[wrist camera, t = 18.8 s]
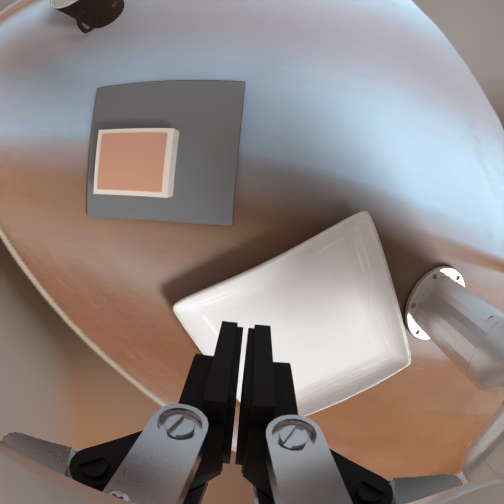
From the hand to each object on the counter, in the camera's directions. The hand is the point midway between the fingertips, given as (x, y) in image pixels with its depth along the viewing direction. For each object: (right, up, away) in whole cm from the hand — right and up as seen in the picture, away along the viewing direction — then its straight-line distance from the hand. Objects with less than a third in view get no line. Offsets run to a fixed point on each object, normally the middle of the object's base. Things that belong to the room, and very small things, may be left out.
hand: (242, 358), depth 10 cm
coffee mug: (-22, +39, +16) cm, 48 cm away
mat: (-11, +16, +22) cm, 30 cm away
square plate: (+8, -8, +30) cm, 32 cm away
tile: (-9, +14, +21) cm, 27 cm away
